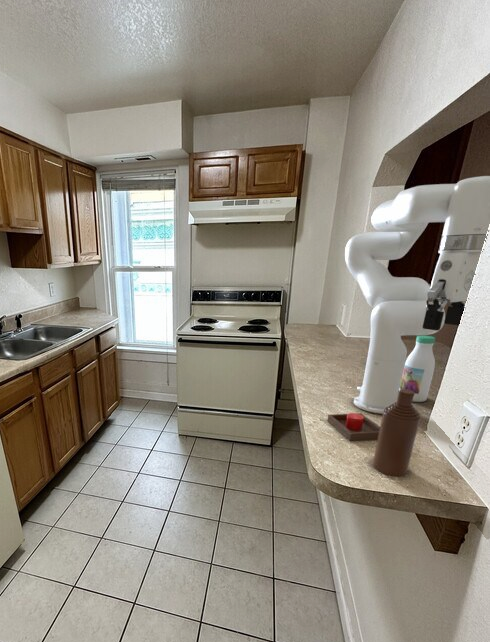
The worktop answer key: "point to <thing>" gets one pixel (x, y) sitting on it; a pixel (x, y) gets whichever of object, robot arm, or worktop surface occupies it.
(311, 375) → the worktop surface
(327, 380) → the worktop surface
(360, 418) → the cap
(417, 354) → the milk bottle
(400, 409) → the sauce bottle
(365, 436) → the tray
